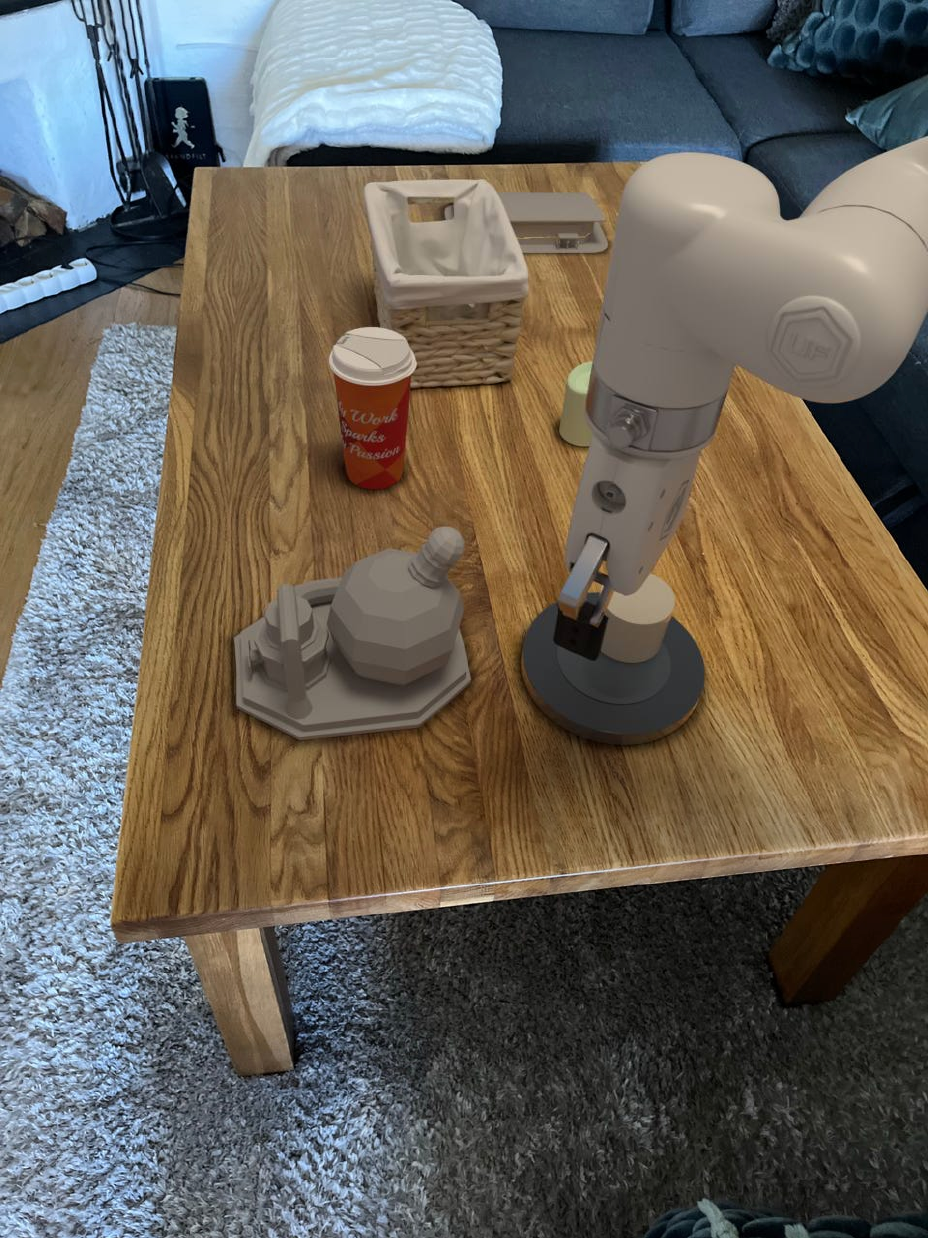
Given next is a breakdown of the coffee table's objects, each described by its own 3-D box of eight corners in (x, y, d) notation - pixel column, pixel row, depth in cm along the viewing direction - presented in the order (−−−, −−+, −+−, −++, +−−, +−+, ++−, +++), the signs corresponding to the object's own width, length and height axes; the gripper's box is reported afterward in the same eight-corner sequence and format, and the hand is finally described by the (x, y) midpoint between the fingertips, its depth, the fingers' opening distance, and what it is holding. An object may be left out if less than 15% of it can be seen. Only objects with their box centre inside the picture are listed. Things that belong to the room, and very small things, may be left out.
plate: (724, 646, 86) (729, 634, 84) (663, 776, 76) (668, 764, 75) (565, 580, 90) (568, 568, 89) (489, 695, 80) (490, 683, 79)
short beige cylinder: (672, 626, 85) (685, 586, 81) (647, 674, 81) (659, 635, 77) (607, 599, 86) (617, 559, 82) (579, 644, 82) (588, 605, 79)
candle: (572, 451, 103) (584, 388, 97) (551, 425, 106) (560, 362, 100) (611, 441, 105) (624, 378, 99) (588, 416, 108) (600, 353, 102)
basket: (521, 391, 110) (535, 273, 99) (384, 399, 108) (383, 279, 97) (484, 286, 126) (493, 175, 115) (363, 291, 123) (360, 178, 112)
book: (612, 252, 134) (617, 226, 131) (453, 253, 131) (454, 226, 128) (590, 203, 144) (594, 177, 141) (442, 203, 141) (443, 176, 138)
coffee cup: (321, 483, 97) (312, 358, 86) (357, 439, 103) (352, 315, 91) (395, 506, 96) (394, 381, 84) (427, 460, 101) (431, 337, 90)
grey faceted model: (449, 587, 89) (457, 459, 77) (481, 719, 79) (496, 595, 67) (233, 609, 85) (208, 478, 74) (238, 749, 75) (210, 623, 64)
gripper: (659, 508, 46) (604, 713, 59) (766, 347, 56) (699, 551, 69) (524, 455, 48) (499, 664, 61) (650, 310, 59) (606, 514, 71)
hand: (605, 604), depth 65 cm, fingers open, 9 cm apart
